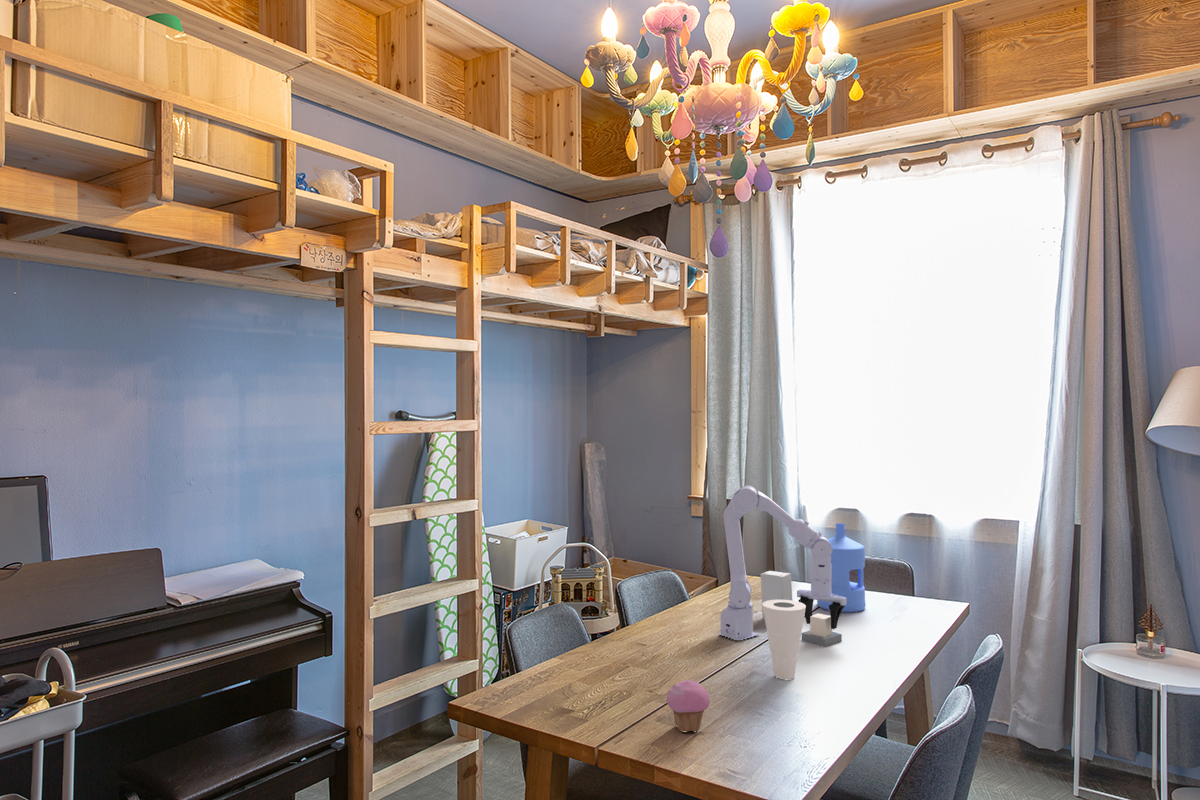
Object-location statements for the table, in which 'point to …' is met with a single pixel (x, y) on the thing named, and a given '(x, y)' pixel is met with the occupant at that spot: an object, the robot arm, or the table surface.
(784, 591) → the skincare box
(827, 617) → the block
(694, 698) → the cupcake
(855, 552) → the water jug
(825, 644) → the base
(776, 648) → the cup
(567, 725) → the table surface
